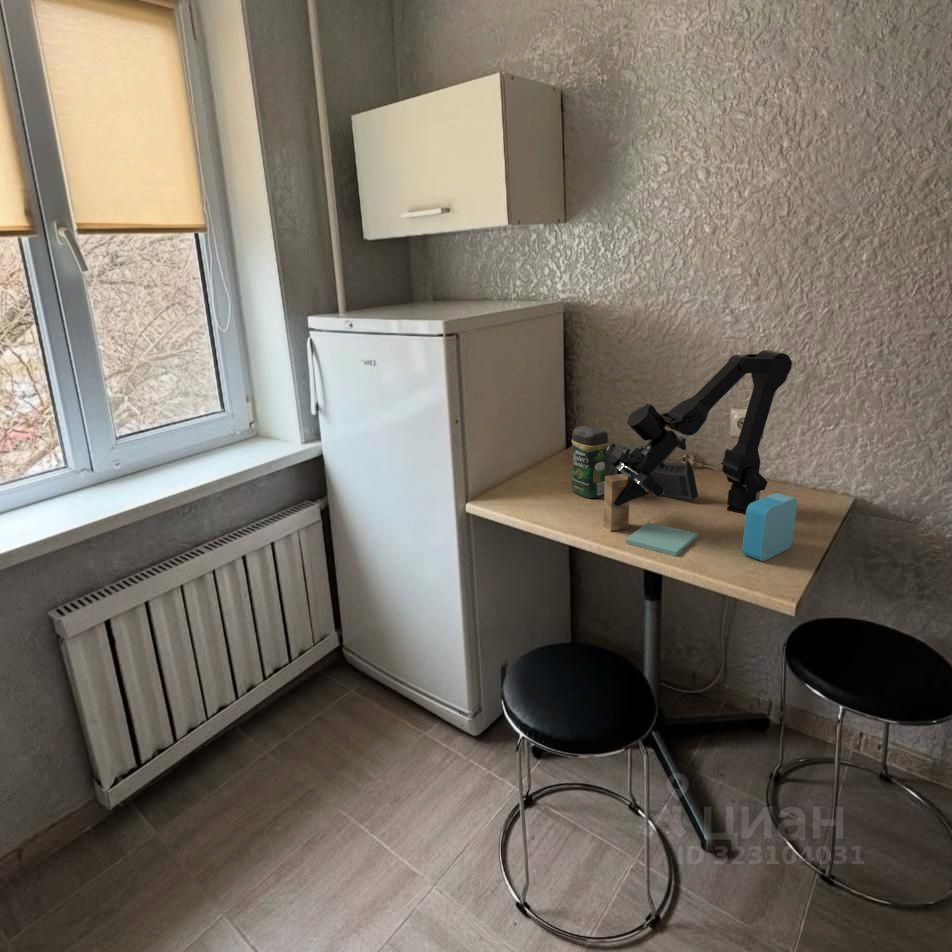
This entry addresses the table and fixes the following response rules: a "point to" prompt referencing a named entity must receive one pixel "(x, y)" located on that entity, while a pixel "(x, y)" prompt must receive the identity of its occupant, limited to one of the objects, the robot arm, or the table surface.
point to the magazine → (668, 477)
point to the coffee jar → (589, 461)
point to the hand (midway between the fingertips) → (611, 501)
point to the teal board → (661, 538)
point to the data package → (769, 526)
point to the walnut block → (614, 514)
